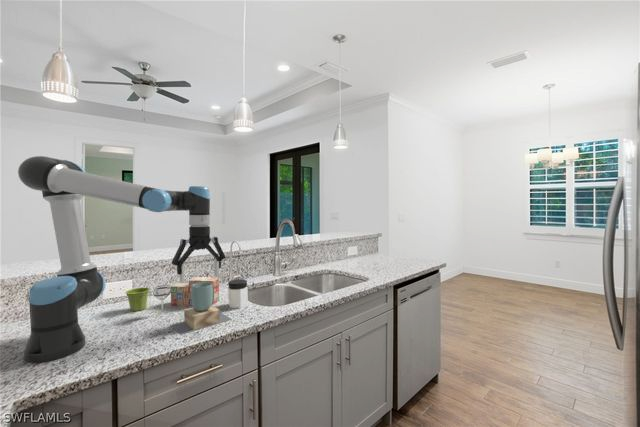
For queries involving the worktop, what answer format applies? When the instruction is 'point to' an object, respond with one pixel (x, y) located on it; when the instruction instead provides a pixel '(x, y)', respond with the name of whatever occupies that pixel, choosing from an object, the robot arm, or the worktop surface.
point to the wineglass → (161, 294)
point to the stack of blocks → (183, 291)
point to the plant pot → (137, 298)
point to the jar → (238, 293)
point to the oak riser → (201, 317)
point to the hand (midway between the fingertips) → (200, 279)
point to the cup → (202, 296)
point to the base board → (184, 328)
